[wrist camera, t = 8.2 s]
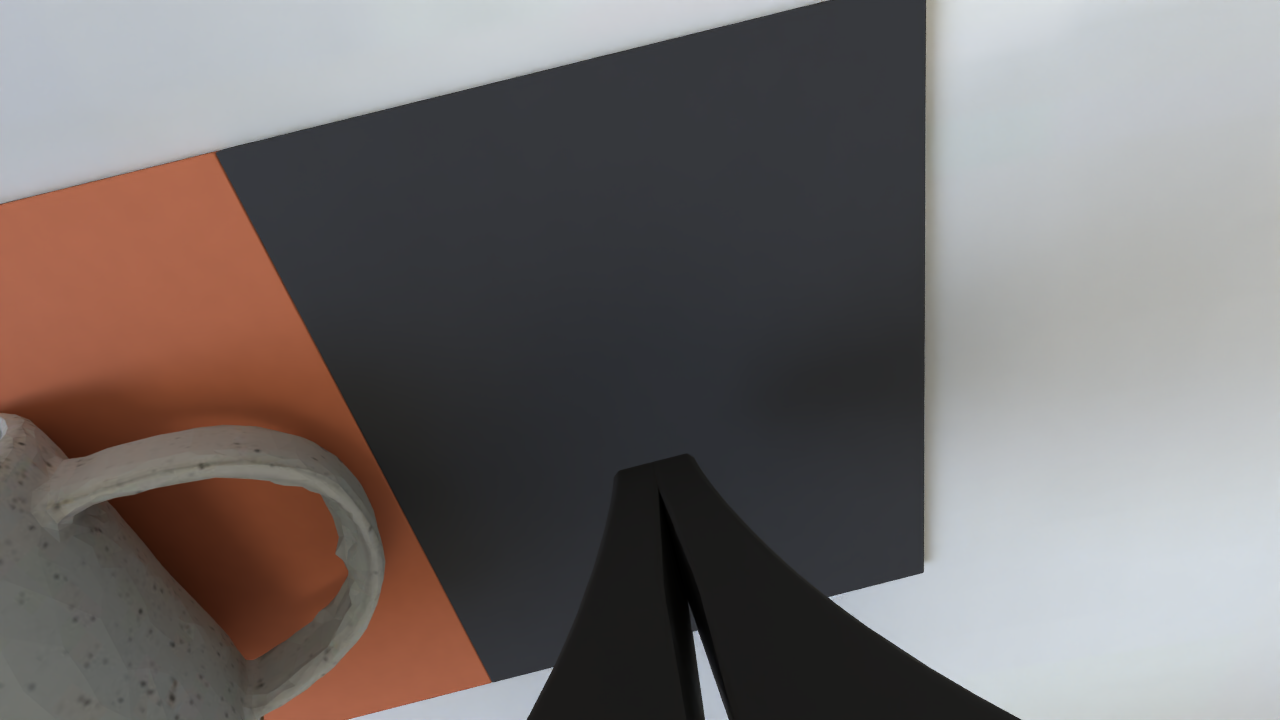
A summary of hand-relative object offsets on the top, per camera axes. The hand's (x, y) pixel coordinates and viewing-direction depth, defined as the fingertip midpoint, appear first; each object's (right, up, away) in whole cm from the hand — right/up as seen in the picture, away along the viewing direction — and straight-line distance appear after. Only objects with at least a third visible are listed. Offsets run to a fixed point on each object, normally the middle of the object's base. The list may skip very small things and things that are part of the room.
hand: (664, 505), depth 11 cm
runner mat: (-6, 0, +3) cm, 6 cm away
